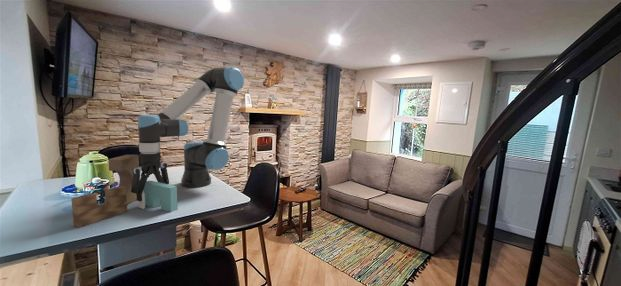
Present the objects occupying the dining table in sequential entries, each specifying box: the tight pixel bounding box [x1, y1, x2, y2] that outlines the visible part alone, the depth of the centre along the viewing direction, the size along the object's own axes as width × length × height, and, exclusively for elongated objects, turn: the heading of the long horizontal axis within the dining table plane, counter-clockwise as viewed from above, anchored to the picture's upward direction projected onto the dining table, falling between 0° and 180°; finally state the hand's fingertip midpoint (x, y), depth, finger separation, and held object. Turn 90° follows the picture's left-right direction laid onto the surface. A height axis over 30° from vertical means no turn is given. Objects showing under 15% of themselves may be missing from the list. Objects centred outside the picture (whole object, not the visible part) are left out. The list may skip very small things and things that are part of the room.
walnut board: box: [71, 185, 128, 229], centre depth 95 cm, size 16×3×10 cm, turn 158°
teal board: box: [142, 180, 178, 213], centre depth 107 cm, size 16×3×10 cm, turn 68°
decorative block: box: [107, 154, 140, 206], centre depth 110 cm, size 11×6×20 cm, turn 179°
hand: (152, 204), depth 110 cm, fingers open, 8 cm apart
